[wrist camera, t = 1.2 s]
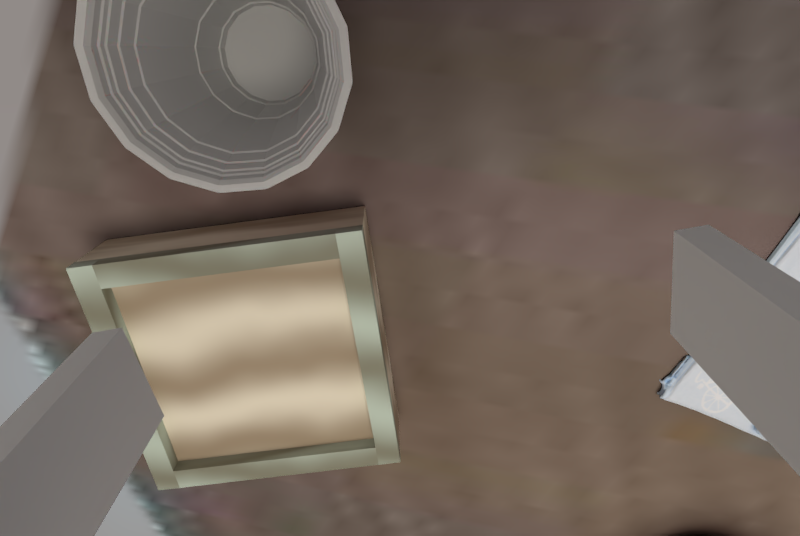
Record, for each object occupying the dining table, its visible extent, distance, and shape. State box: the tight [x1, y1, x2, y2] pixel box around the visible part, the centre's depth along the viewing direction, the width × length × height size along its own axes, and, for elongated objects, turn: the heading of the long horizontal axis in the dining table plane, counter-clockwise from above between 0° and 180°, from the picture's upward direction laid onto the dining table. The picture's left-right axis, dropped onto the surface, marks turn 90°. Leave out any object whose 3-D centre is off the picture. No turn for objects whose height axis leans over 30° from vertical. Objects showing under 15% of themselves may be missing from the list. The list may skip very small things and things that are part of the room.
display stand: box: [66, 206, 400, 490], centre depth 37 cm, size 18×18×5 cm
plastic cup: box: [73, 0, 353, 193], centre depth 26 cm, size 11×11×12 cm
